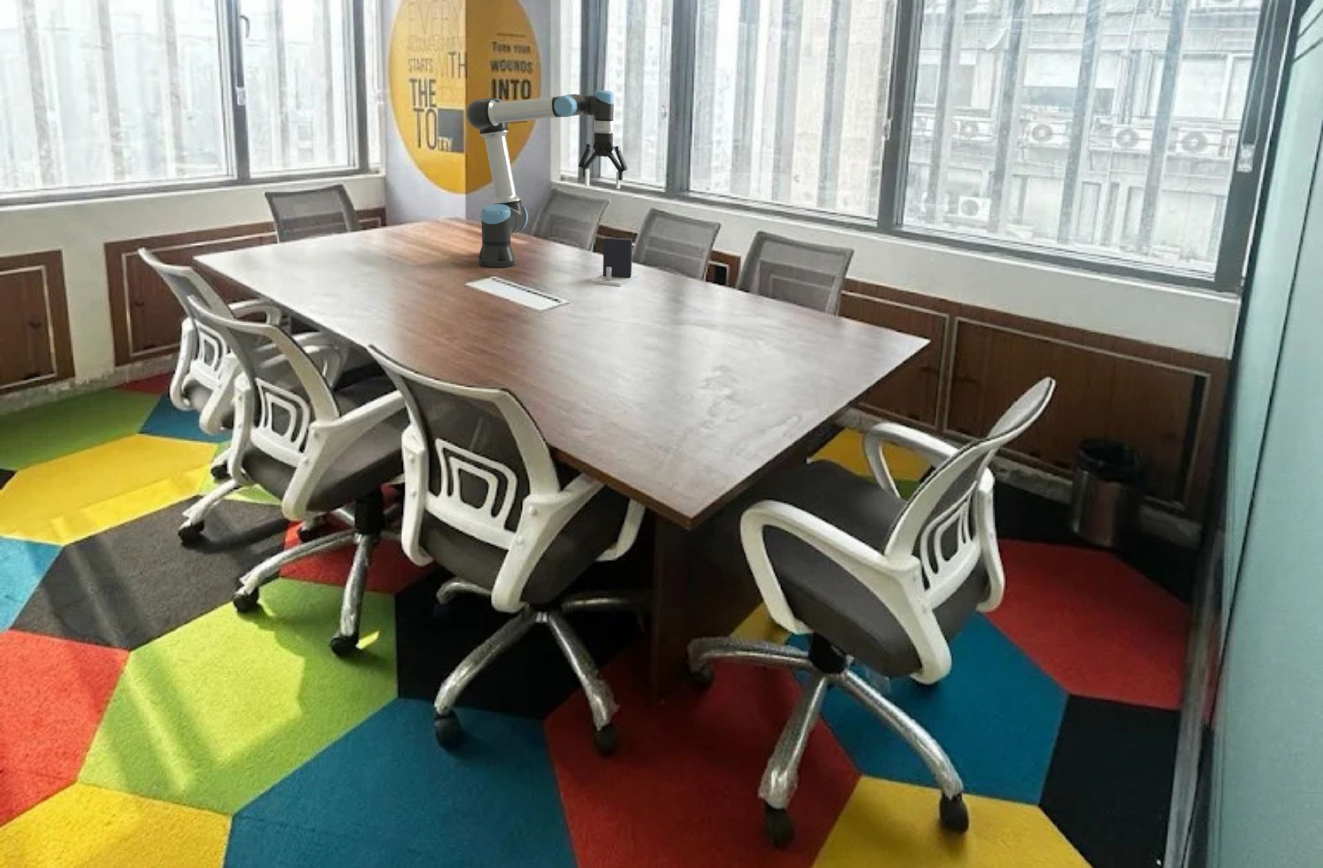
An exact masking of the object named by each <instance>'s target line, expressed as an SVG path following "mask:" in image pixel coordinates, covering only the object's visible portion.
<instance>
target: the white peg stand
mask: <svg viewBox="0 0 1323 868" xmlns="http://www.w3.org/2000/svg"><path fill="white" fill-rule="evenodd" d="M611 270H612V267H606V276H603V274H601V275H599V276H596V277H595V278H592V279H591V280H590V281H591V284H598V285H604V286H612V287H622V286H624V285H626V284H628V283H630V282H632V281H633V280H635V279H638V278H639V277H641V276H640V275H642V273H641V272H638V271H632V272H631V277H630V278H621V277H611Z"/></svg>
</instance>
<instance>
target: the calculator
mask: <svg viewBox="0 0 1323 868" xmlns="http://www.w3.org/2000/svg"><path fill="white" fill-rule="evenodd" d="M602 242H603V243H602V249H603V252H602V255H603V257H602V258H603V259H602V261H603V262H602V264H603V265H602V275H603V276H606V267H612V270H611V277H621V278H630V277H631V272H633V271H632V268H633V267H632V265H633V238H628V237H627V238H626V237H613V236H612V237H610V236H605V237H604V238H603V241H602Z"/></svg>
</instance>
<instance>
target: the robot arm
mask: <svg viewBox="0 0 1323 868" xmlns="http://www.w3.org/2000/svg"><path fill="white" fill-rule="evenodd" d="M614 95H615V94H614V92H613V91H611V90H599V89H598V90H595V91H594V94H592V95H591V94H590V95H588V94H578V93H573V94H572V93H571V94H570V93H568V94H566V95H558V96H553V97H552V96H551V97H550V96H548V97H540V98H530V99H529V98H528V99H521V100H509V101H504V100H503V101H502V99H499V98H495V97H489V98H478V99H474V100H473V101H472V102H470V103H469V104H468V106H467V107H466V112H465V113H466V114H465V115H466V119H467V122H468V123H469V125H470V126H472V127H473V128H475V129H476V130H479V131H478V132H479V135H480V136H481V137H482V138H483V139H484V142H485V147H486V153H487V158H488V164H489V167H490V169H489V170H490V173H491V178H492V185H493V190H494V195H495V200H494V201H493V203H492V204H488V205H485V206H483V208H482V209H481V213H480V220H481V222H480V223H481V225H480V226H481V244H482V245H481V248H480V251H479V255H478V257H477V258H478V259H477V261H478V262H477V264H478V265H479V266H481V267H482V266H483V267H485V268H486V267H487V268H509V267H512V266H515V265H516V257H515V254H514V252H513V248H512V242H511V241H512V240H511V235H513V234H517V233H518V232H520V231H522V230H524V228H525V227H526V226H527V223H528V221H529V215H528V214H529V213H528V210H527V209H526V207H524V206H523V205H522V199H521V197H519V195H517V193H516V192H517V191H516V185H515V181H514V180H515V179H514V176H513V170H512V165H511V160H510V159H511V158H510V154H509V153H510V152H509V148H508V143H507V134H508V132H509V127H508V124H509V123H512V122H521V121H523V122H524V121H532V120H533V121H534V120H542V119H543V120H544V119H551V118H552V119H554V118H555V119H556V118H568V117H573V116H574V117H575V116H593V117H594V121H593V124H594V125H593V129H594V131H595V132H593V144H592V143H586V146H585V151H584V153H583V155H582V157H581V159H580V161H579V163H578V167H579V168H582V176H583V178H584V187H588V186H590V175H591V174H590V173H591V172H590V168H589V167H590V165H592V163H593V162H594V161H595V159H596V158H597V157H604V158H606V157H607V158H608V159H609V160H610V161H611V163H612V164H613V165H614V167H615V169H616V170H617V171H616V178H615V180H616V181H615V189H616V190H619V189H621V182H622V181H623V178H624V176H623V175H624V172H625V171H627V170H628V166H627V164H626V162H625V159H624V156H623V154H622V151H621V145H616V146H615V145H614V143H613V142H614V133H612V132H613V131H614V110H615V109H614V107H615V106H614V105H615V100H614V99H615V97H614ZM592 150H594V151H593V152H592V154H591V151H592ZM613 151H614V152H615V154H614V153H613ZM590 154H591V155H590ZM589 155H590V157H589ZM615 155H616V157H617V159H616V157H615Z"/></svg>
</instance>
